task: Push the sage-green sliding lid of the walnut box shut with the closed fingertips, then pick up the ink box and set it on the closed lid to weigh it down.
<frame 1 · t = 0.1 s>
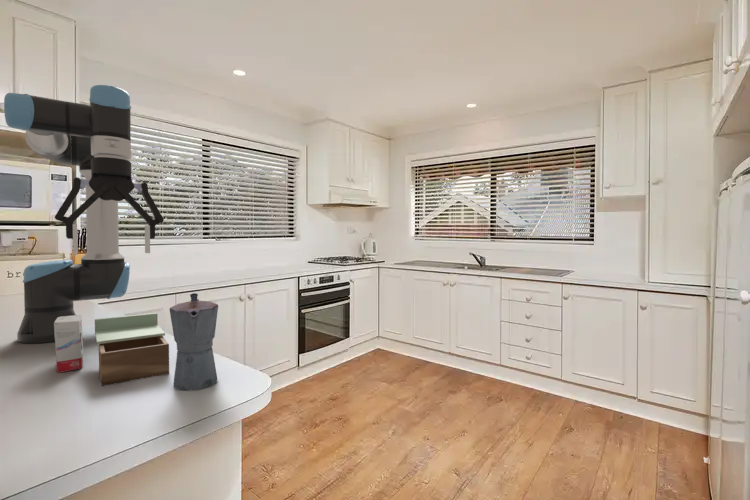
hand: (113, 253, 90), 28 cm above the worktop, fingers open, 13 cm apart
walnut box: (133, 372, 93), on the worktop
moka pot: (194, 383, 88), on the worktop
ink box: (69, 367, 97), on the worktop
lid: (129, 327, 99), point 9 cm above the worktop, slide at 8.0 cm
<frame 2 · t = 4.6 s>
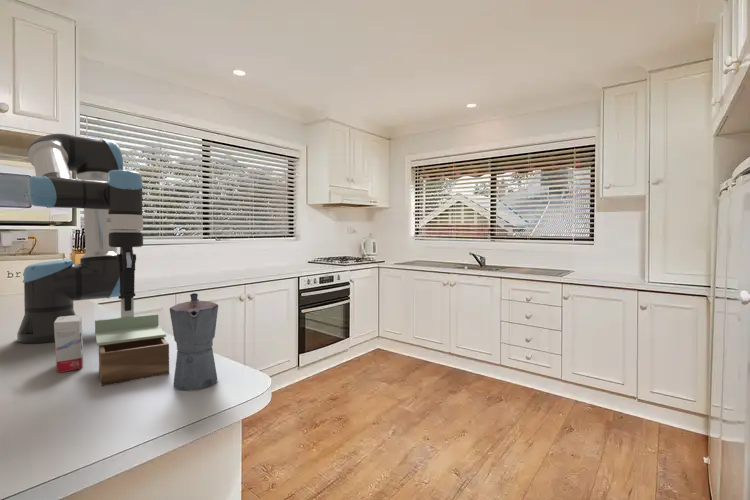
hand: (127, 322, 103), 9 cm above the worktop, fingers closed
lid: (130, 328, 98), point 9 cm above the worktop, slide at 6.5 cm, touching gripper
everything else where it was.
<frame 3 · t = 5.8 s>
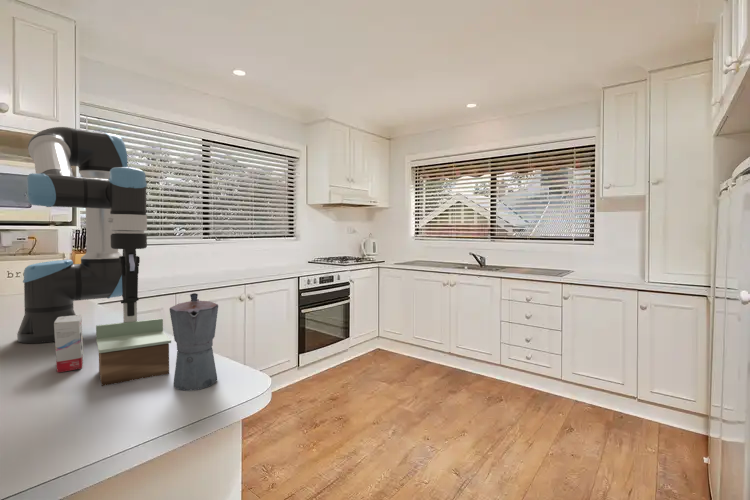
hand: (130, 328, 98), 9 cm above the worktop, fingers closed
lid: (133, 334, 93), point 9 cm above the worktop, slide at -0.1 cm, touching gripper
everything else where it was.
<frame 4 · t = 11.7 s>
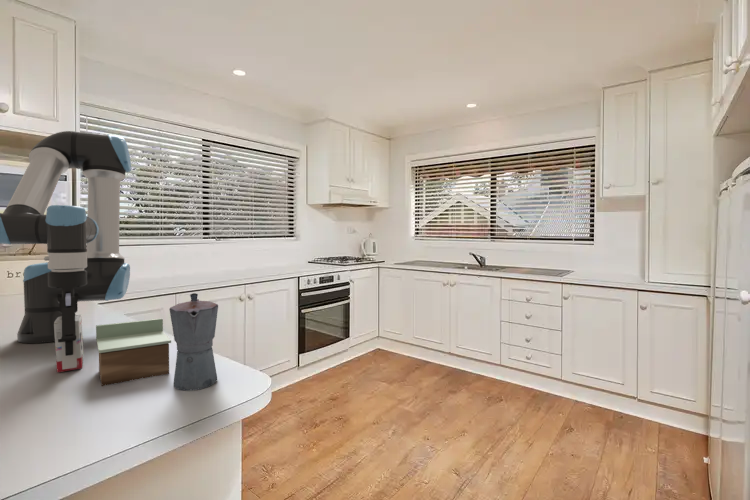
hand: (69, 362, 97), 1 cm above the worktop, fingers closed on ink box, 9 cm apart
ink box: (69, 367, 97), on the worktop, touching gripper
lid: (133, 334, 93), point 9 cm above the worktop, slide at 0.0 cm
everything else where it was.
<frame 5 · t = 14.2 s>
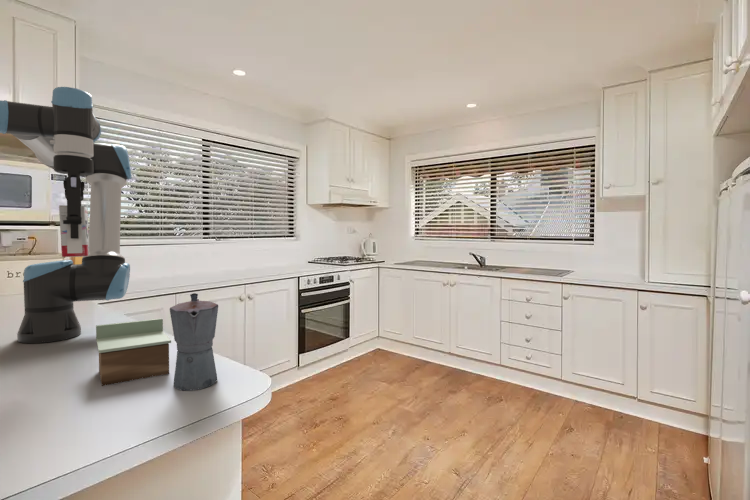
hand: (75, 252, 94), 28 cm above the worktop, fingers closed on ink box, 9 cm apart
ink box: (75, 257, 94), point 27 cm above the worktop, touching gripper
everything else where it was.
when the fingers open (11 cm above the worktop, at t = 17.0 s): ink box drops 1 cm, point 9 cm above the worktop.
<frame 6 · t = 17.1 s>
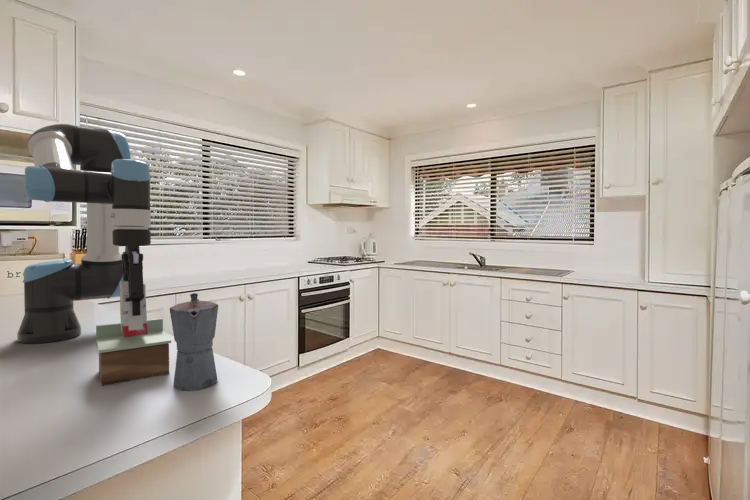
hand: (133, 325, 92), 11 cm above the worktop, fingers open, 9 cm apart
ink box: (133, 333, 93), point 9 cm above the worktop
lid: (133, 334, 93), point 9 cm above the worktop, slide at -0.1 cm, touching gripper
everything else where it was.
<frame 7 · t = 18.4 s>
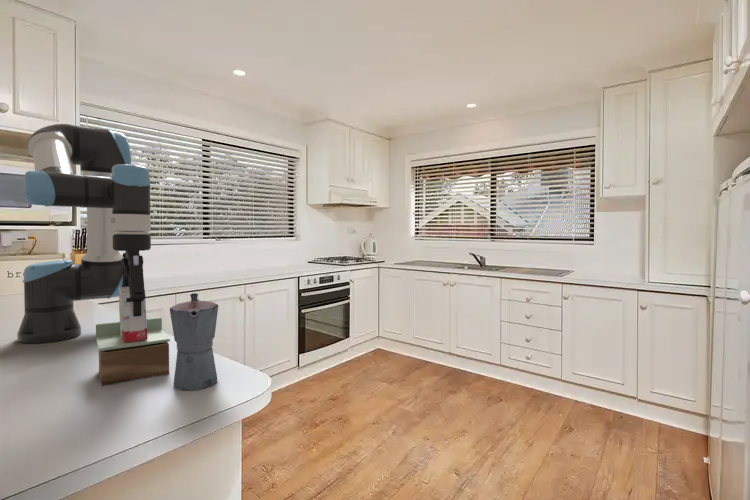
hand: (133, 324, 93), 11 cm above the worktop, fingers open, 13 cm apart
ink box: (132, 338, 94), point 8 cm above the worktop, touching lid
lid: (132, 332, 94), point 9 cm above the worktop, slide at 1.5 cm, touching ink box
everything else where it was.
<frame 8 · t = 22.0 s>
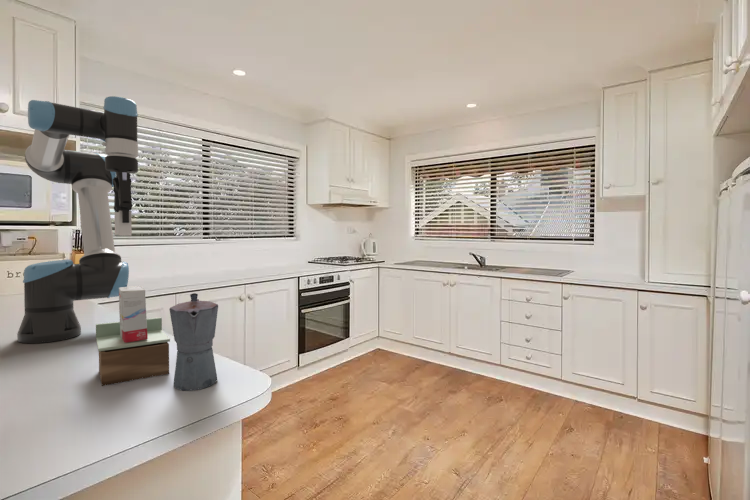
hand: (122, 235, 109), 32 cm above the worktop, fingers open, 13 cm apart
nothing on the worktop moved.
at the end: lid slide at 1.5 cm; ink box inside the target area (1.1 cm from its centre), point 7.7 cm above the worktop; ink box tilted 0° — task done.
